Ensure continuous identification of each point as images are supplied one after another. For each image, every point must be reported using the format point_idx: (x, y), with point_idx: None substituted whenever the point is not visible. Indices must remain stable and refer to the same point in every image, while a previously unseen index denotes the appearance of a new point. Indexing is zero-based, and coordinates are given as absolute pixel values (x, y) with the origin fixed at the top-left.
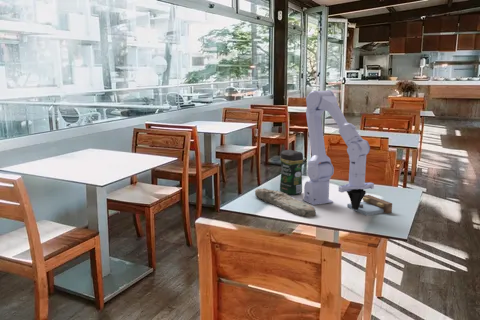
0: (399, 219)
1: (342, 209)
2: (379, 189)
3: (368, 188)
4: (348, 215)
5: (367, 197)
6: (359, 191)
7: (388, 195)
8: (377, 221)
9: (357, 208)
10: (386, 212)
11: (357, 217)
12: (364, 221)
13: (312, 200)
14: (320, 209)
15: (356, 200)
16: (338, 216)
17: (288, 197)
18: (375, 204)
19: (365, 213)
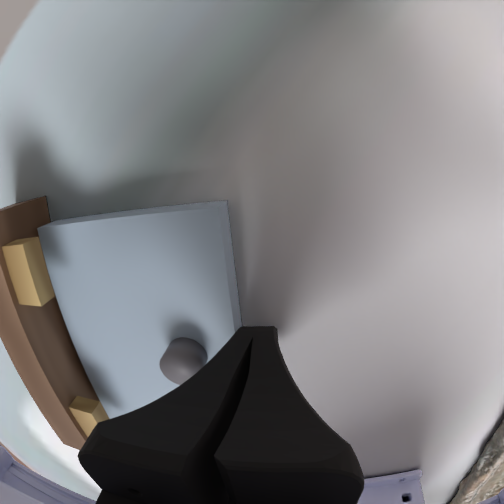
0: (44, 47)
1: (327, 398)
2: (28, 454)
3: (31, 471)
4: (396, 260)
5: (79, 427)
6: (199, 501)
7: (3, 410)
8: (231, 10)
9: (252, 329)
10: (40, 197)
11: (355, 174)
12: (358, 47)
13: (420, 491)
14: (450, 418)
15: (279, 385)
16: (480, 266)
17: (482, 498)
18: (57, 335)
19: (225, 214)
